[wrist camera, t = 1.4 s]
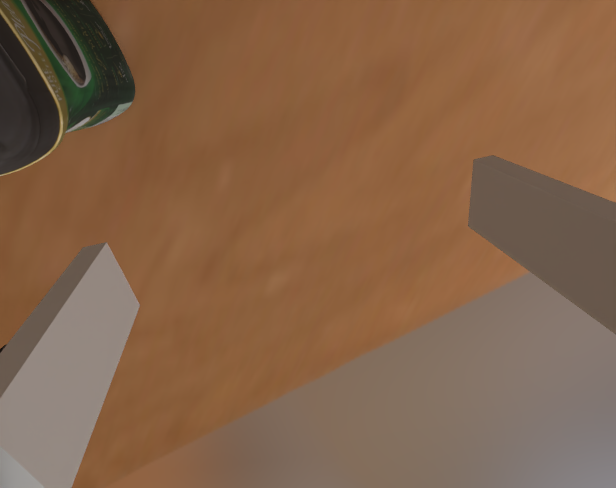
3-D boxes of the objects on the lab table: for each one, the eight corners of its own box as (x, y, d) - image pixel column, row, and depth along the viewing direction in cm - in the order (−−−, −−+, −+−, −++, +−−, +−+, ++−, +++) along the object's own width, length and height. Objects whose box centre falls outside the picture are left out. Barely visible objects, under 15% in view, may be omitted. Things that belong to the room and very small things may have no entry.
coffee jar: (-22, 9, 25) (-482, -71, 9) (79, -32, 25) (-200, -186, 9) (68, 138, 30) (-124, 234, 14) (153, 103, 30) (59, 161, 14)
